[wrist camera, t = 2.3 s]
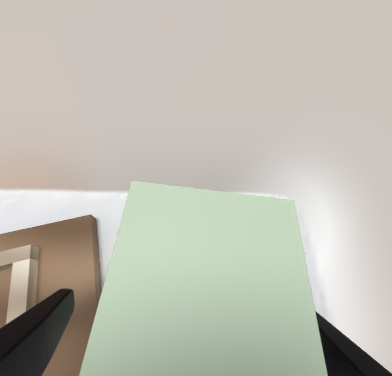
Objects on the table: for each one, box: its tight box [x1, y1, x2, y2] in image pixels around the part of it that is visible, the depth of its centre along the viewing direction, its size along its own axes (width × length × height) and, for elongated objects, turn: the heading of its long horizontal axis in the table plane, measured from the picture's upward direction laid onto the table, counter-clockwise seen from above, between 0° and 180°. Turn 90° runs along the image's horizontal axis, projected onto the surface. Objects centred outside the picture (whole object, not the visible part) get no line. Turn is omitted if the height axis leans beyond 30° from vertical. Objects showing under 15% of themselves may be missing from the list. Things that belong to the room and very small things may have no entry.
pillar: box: [79, 181, 328, 376], centre depth 10 cm, size 4×4×13 cm
